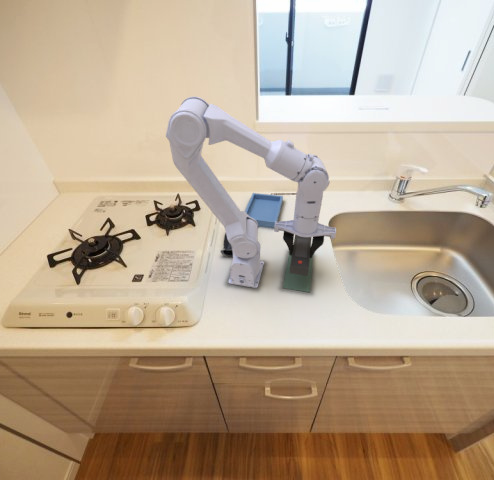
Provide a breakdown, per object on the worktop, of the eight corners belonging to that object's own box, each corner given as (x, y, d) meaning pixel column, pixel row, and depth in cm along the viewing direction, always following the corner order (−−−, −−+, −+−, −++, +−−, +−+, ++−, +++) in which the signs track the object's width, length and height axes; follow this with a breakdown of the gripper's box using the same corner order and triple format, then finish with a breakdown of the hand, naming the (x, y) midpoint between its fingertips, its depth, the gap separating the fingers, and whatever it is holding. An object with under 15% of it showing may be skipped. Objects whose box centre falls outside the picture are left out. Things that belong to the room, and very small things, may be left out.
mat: (309, 292, 67) (310, 291, 66) (282, 288, 68) (282, 287, 67) (312, 255, 77) (312, 254, 77) (289, 251, 78) (289, 250, 78)
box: (275, 228, 87) (276, 222, 85) (242, 224, 89) (241, 218, 87) (282, 201, 99) (282, 196, 97) (252, 198, 101) (252, 192, 99)
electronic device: (253, 260, 77) (256, 224, 87) (250, 249, 73) (253, 212, 83) (223, 262, 79) (229, 226, 88) (218, 250, 75) (225, 214, 84)
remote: (307, 276, 64) (308, 268, 62) (289, 273, 64) (290, 265, 62) (310, 241, 73) (311, 234, 71) (294, 239, 74) (295, 232, 72)
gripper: (339, 205, 61) (329, 247, 70) (278, 199, 63) (276, 240, 72) (340, 223, 56) (329, 266, 65) (273, 215, 58) (271, 258, 67)
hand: (301, 254), depth 68 cm, fingers closed on remote, 4 cm apart
